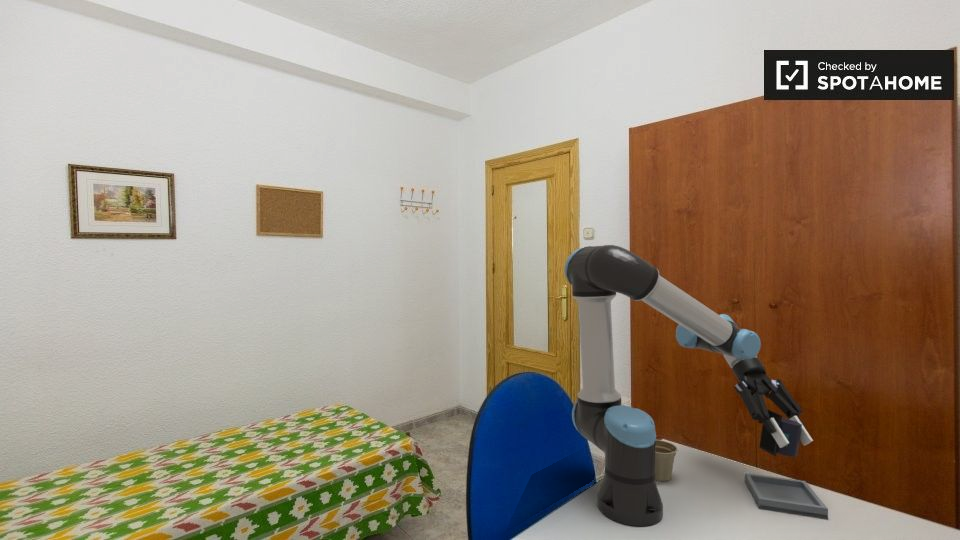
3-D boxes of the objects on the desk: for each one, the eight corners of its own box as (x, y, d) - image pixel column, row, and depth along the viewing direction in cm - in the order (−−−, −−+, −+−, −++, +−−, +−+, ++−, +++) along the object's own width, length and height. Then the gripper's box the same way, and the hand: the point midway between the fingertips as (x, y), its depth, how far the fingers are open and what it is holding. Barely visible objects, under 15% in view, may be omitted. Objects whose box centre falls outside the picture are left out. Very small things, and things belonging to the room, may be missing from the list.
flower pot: (681, 486, 118) (681, 454, 118) (644, 482, 120) (644, 451, 120) (673, 470, 127) (673, 440, 127) (639, 467, 129) (639, 438, 129)
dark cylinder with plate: (767, 455, 109) (771, 414, 109) (759, 447, 114) (763, 407, 115) (802, 462, 107) (806, 420, 107) (792, 453, 113) (796, 413, 113)
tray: (759, 508, 107) (759, 498, 107) (744, 482, 120) (744, 473, 120) (827, 519, 103) (828, 508, 103) (805, 490, 116) (805, 481, 116)
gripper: (765, 368, 128) (818, 447, 112) (707, 372, 124) (754, 453, 109) (781, 354, 123) (839, 434, 107) (721, 357, 119) (772, 440, 103)
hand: (796, 444), depth 108 cm, fingers closed on dark cylinder with plate, 6 cm apart
